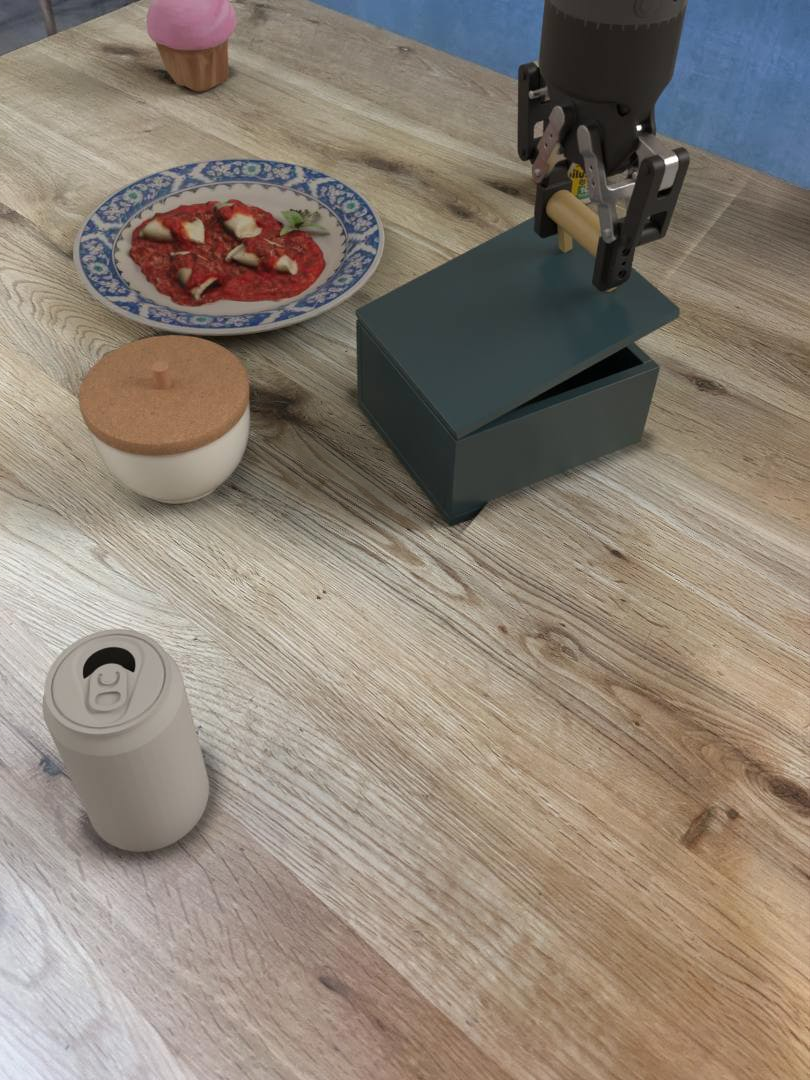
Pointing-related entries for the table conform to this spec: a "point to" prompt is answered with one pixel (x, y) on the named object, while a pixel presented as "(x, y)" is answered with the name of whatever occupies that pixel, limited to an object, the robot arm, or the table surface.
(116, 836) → the beverage can
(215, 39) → the cupcake
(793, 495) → the table surface
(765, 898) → the table surface
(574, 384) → the bin
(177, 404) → the trinket box
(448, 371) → the bin lid
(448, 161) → the table surface
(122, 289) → the ceramic plate
